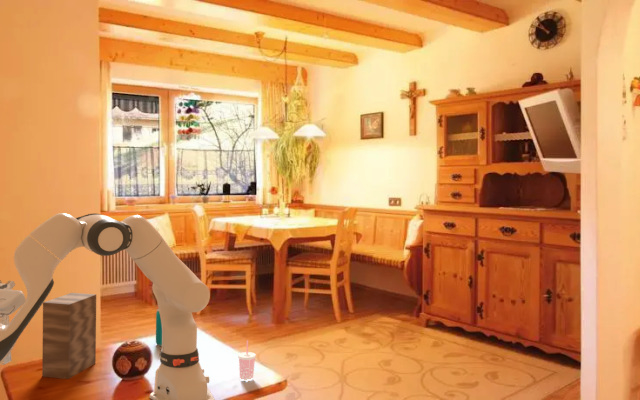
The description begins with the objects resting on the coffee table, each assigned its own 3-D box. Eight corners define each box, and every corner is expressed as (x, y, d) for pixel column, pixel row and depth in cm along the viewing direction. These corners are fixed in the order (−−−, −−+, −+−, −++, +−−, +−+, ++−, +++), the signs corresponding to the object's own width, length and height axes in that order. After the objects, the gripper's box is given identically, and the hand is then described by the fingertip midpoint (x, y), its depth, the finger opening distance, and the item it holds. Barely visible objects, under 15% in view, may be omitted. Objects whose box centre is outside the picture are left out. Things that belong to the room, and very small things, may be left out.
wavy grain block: (68, 379, 182) (69, 304, 181) (42, 376, 184) (42, 302, 183) (95, 363, 198) (96, 294, 197) (71, 360, 200) (71, 292, 199)
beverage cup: (252, 375, 191) (253, 337, 190) (257, 381, 185) (258, 342, 185) (235, 377, 188) (236, 339, 187) (240, 384, 183) (241, 344, 182)
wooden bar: (-1, 286, 154) (6, 283, 157) (-10, 285, 155) (-2, 283, 158) (3, 364, 157) (11, 360, 160) (-5, 364, 158) (2, 359, 161)
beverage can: (172, 343, 224) (172, 308, 224) (166, 347, 219) (167, 311, 218) (158, 342, 225) (159, 307, 224) (153, 346, 219) (154, 310, 219)
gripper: (2, 309, 144) (33, 276, 155) (-63, 303, 147) (-28, 271, 159) (10, 325, 147) (40, 292, 159) (-54, 320, 150) (-20, 287, 162)
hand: (5, 282), depth 159 cm, fingers closed on wooden bar, 3 cm apart
